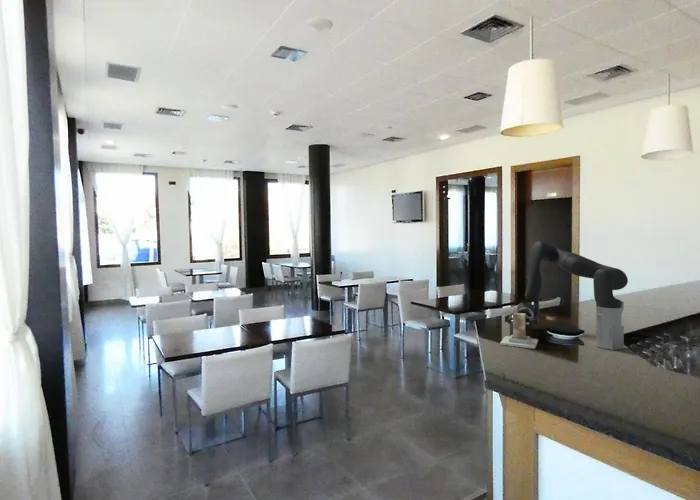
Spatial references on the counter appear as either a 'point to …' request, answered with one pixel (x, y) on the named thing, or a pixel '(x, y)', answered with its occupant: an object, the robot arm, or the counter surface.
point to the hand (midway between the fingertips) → (519, 322)
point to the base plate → (519, 342)
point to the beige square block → (519, 326)
